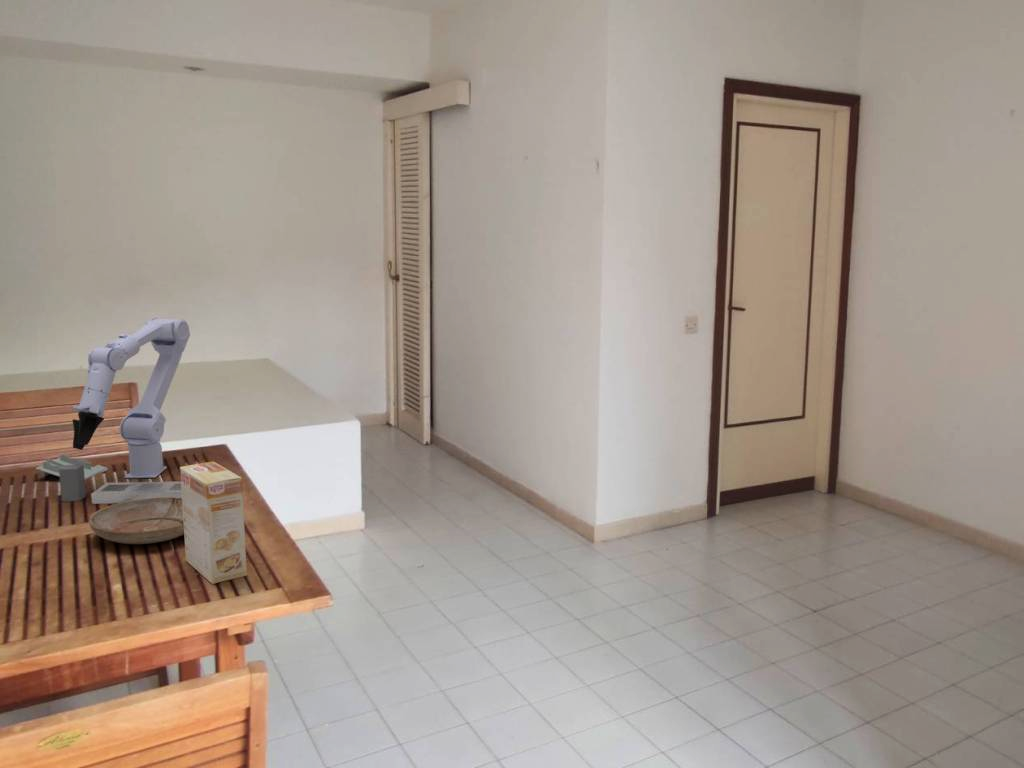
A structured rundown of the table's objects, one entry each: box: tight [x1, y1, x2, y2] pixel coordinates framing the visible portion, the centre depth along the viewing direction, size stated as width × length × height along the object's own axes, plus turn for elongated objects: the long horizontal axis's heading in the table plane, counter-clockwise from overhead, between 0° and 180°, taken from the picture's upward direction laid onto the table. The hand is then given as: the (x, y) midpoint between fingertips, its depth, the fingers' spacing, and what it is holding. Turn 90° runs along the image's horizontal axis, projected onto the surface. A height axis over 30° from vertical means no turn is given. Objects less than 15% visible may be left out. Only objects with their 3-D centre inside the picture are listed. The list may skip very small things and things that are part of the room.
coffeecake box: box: [179, 461, 248, 585], centre depth 162 cm, size 15×7×20 cm, turn 39°
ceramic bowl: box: [88, 497, 184, 545], centre depth 182 cm, size 23×24×5 cm
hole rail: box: [90, 480, 182, 505], centre depth 207 cm, size 9×24×2 cm, turn 94°
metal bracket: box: [35, 453, 109, 481], centre depth 224 cm, size 14×6×15 cm
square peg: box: [59, 465, 87, 502], centre depth 205 cm, size 4×4×8 cm
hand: (80, 446), depth 202 cm, fingers open, 7 cm apart
